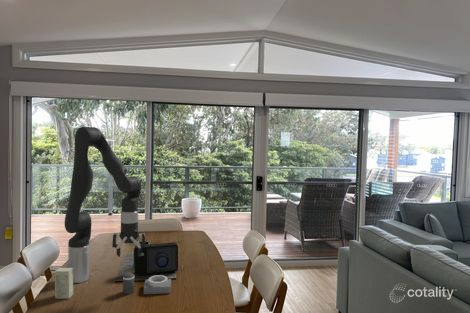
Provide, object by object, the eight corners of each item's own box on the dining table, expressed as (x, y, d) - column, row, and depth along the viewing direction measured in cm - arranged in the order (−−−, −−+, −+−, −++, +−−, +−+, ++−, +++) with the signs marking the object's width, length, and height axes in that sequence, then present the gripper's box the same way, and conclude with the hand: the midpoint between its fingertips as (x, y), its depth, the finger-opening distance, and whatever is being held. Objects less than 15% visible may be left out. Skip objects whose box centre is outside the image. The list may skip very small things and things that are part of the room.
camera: (133, 279, 173) (134, 249, 172) (133, 271, 182) (134, 243, 181) (179, 275, 179) (179, 247, 178) (177, 268, 188) (177, 241, 187)
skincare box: (73, 294, 154) (73, 267, 154) (69, 299, 150) (69, 271, 149) (58, 294, 154) (59, 267, 153) (54, 298, 150) (54, 271, 149)
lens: (121, 295, 155) (122, 277, 155) (123, 290, 160) (123, 273, 160) (133, 294, 156) (133, 277, 156) (134, 289, 161) (135, 272, 161)
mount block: (143, 294, 157) (143, 283, 157) (145, 285, 166) (145, 275, 165) (170, 293, 159) (170, 282, 158) (171, 284, 168) (171, 274, 167)
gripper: (111, 223, 152) (111, 259, 152) (144, 222, 154) (144, 258, 155) (114, 218, 159) (114, 253, 160) (146, 218, 161) (146, 252, 162)
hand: (129, 256), depth 157 cm, fingers open, 8 cm apart
